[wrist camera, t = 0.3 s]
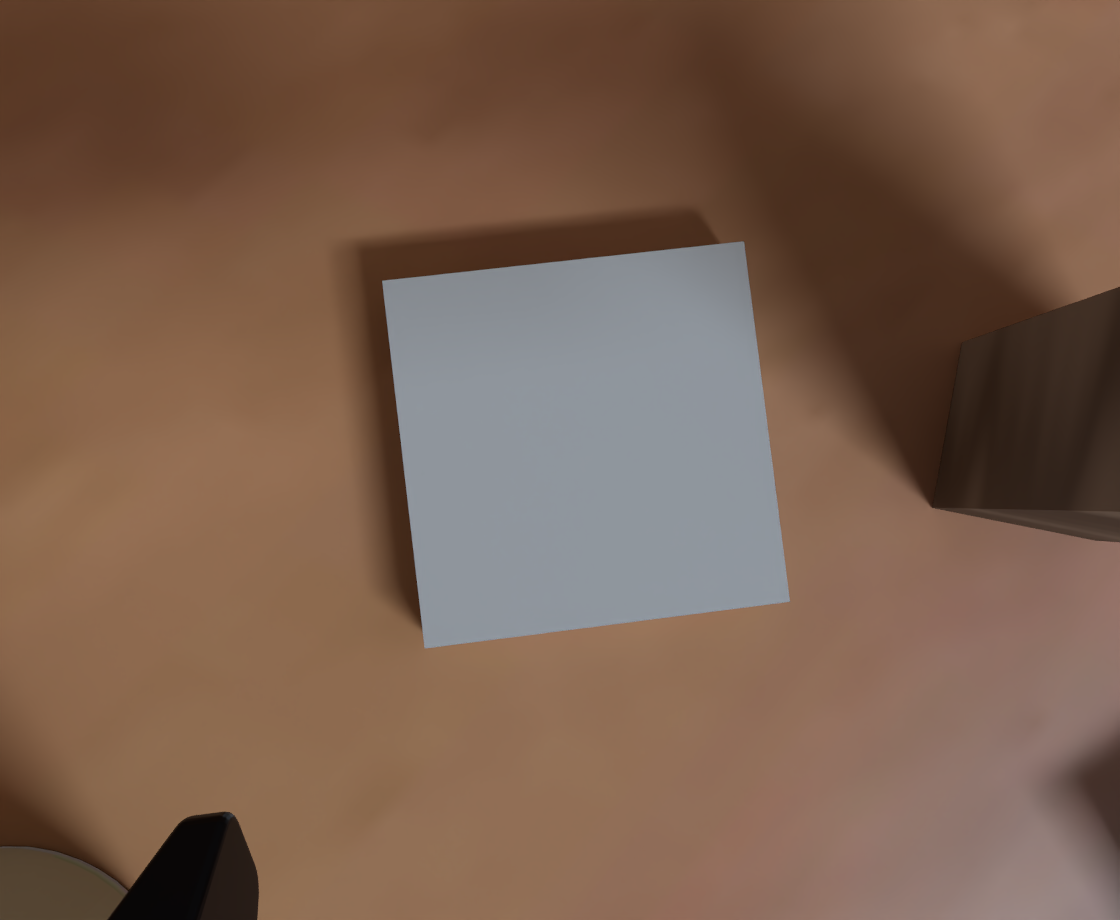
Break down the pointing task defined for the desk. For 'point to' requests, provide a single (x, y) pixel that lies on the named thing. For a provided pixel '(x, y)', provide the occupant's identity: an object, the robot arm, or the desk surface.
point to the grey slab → (584, 443)
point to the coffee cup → (54, 887)
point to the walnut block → (1039, 423)
